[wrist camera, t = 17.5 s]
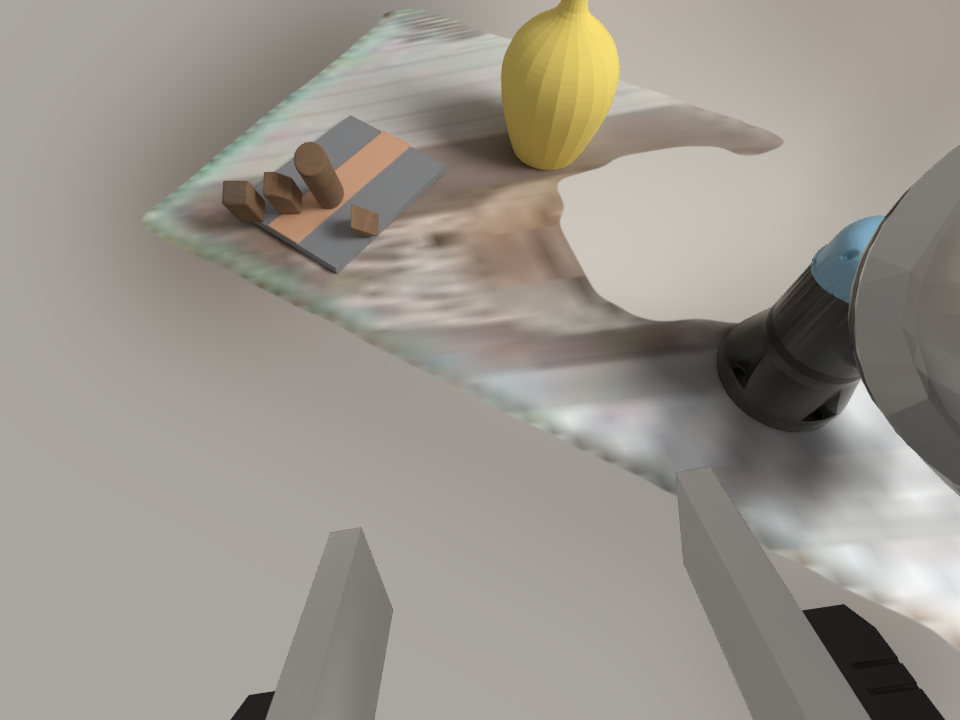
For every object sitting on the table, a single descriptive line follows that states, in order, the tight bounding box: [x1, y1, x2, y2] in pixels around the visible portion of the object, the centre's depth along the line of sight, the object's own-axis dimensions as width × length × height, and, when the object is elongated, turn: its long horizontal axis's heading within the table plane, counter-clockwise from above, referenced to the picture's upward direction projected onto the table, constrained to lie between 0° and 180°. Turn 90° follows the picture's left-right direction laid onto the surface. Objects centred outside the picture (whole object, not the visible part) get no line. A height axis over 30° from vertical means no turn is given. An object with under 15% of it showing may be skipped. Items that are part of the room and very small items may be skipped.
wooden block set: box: [222, 142, 379, 236], centre depth 71 cm, size 18×9×10 cm, turn 91°
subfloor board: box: [254, 115, 446, 274], centre depth 79 cm, size 18×24×2 cm
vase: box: [501, 0, 620, 171], centre depth 76 cm, size 16×16×28 cm
